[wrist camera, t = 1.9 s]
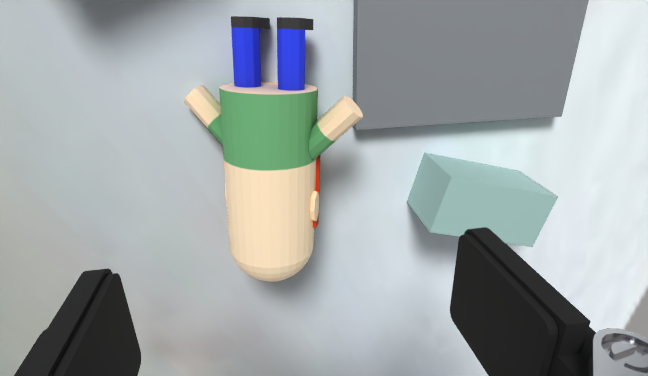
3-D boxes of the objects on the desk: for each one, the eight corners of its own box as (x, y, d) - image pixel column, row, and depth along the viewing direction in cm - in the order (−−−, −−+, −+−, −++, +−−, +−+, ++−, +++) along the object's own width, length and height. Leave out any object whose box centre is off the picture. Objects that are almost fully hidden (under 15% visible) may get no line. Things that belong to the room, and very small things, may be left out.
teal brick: (517, 169, 23) (557, 196, 20) (496, 215, 25) (532, 246, 21) (423, 151, 22) (451, 177, 19) (406, 200, 23) (429, 232, 20)
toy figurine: (210, 17, 20) (224, 239, 24) (146, 13, 16) (178, 281, 20) (379, 21, 17) (362, 264, 22) (357, 17, 13) (341, 316, 18)
